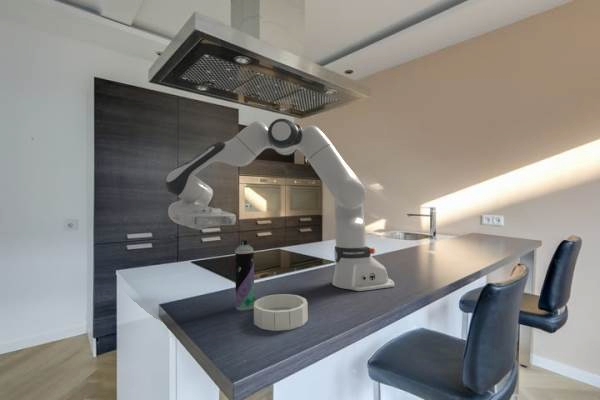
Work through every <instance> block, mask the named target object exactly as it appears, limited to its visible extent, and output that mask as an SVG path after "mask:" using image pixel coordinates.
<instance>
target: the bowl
mask: <svg viewBox="0 0 600 400" xmlns="http://www.w3.org/2000/svg"><path fill="white" fill-rule="evenodd" d="M308 307H309V305H308V300H307V299H306V298H305V297H302V296H301V295H298V294H292V293H291V294H290V293H281V294H278V293H277V294H270V295H265V296H261V297H260V298H258V299H256V300H255V301H254V308H253V325H255V326H257V327H258V328H260V329H262V330H266V331H272V332H277V331H278V332H280V331H290V330H293V329H297V328H300V327H302V326H303V325H305V324H306V323H307V322H308V320H309V318H308V317H309V311H308V309H309V308H308Z"/></svg>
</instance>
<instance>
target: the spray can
mask: <svg viewBox="0 0 600 400" xmlns="http://www.w3.org/2000/svg"><path fill="white" fill-rule="evenodd" d="M254 252H255V251H254V247H252V246H251V245H250V244H249V243H248V240H243V239H242V240H241V241H240V244H239V245H238V246H237V247H236V248H235V251H234V266H235V267H234V273H235V275H234V277H235V308H236V310H238V311H245V312H246V311H249V310H250V311H251V310H254V301H256V300H255V299H256V298H255V264H254V263H255V261H254V260H255V257H254V256H255V255H254V254H255V253H254Z"/></svg>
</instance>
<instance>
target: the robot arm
mask: <svg viewBox="0 0 600 400" xmlns="http://www.w3.org/2000/svg"><path fill="white" fill-rule="evenodd" d="M266 149H269V150H271V151H272V152H274V153H276V154H278V155H281V156H284V157H289V156H292V155H294V154H295V153H296V151H300V152H301V153H302V154H303V155H304V157H305V158H306V160H307V161H308V162H309V165H311V167H312V169H313V170H314V172H315V173H316V175H317V176H318V177H319V179H320V180H321V181H322V183H323V184H324V185H325V187H326V188H327V190H328V191H329V193H330V194H331V196H332V197H333V199H334V220H335V225H334V226H335V227H334V228H335V246H334V261H335V265H334V267H335V268H334V274H333V278H332V279H333V280H332V282H331V283H332V285H333V286H335V287H336V288H340V289H346V290H352V291H355V292H362V291H363V292H364V291H371V290H378V289H386V288H394V287H395V282H394V280H393V279H391V278H390V277H388V272H387V269H386V267H385V265H383V264H382V263H381V262H379V261H378V260H377V259H376V258H374V257H373V256H371V255H375V254H376V251H375V248H374V247H368V246H367V245H366V223H365V211H364V203H365V201H366V200H367V199H366V198H367V190H366V187H365V185H364V184H363V183H362V181H361V180H360V179H359V177H358V176H357V175H356V174H355V172H354V171H353V169H352V168H350V166H349V165H348V164H347V163H346V161H345V160H344V159H343V157H342V155H340V153H339V151H338V150H337V149H336V147H335V146H334V144H333V143H332V142H331V140H330V139H329V138H328V136H327V135H326V134H325V133H324V132H323V131H322V130H321V129H320V128H319V127H318V126H316V125H314V124H313V125H311V124H310V125H307V126H304V128H302V126H301V125H299V124H298V123H295V122H293V121H291V120H289V119H287V118H277V119H275V120H273V121H272V122H271V123H270V124H269V126H267V124H266V123H264V122H262V121H259V120H256V121H253V122H251V123H250V124H248V125H247V126H246V127H244V128H243V129H242V130H241V131H239V132H238V133H237V134H236V136H234V137H232V138H231V139H230V140H228V141H227V140H226V141H223V142H222V141H216V142H215V143H213V144H211V145H210V146H208V147H207V148H205V149H204V150H203V151H201V152H199V153H198V154H196V155H195V156H194V157H192V158H191V159H189V160H188V161H186V162H185V163H184V164H182V165H179V166H178V167H176V168H174V169H173V170H171V171H170V172H169V173H168V174H167V175H166V177H165V187H166V190H167V191H168V192H169V193H171V194H172V195H174V196H176V197H178V198H180V200H178V201H175V202H172V203H171V204H169V206H168V210H167V214H168V217H169V218H170V220H171V221H172V222H174V223H175V224H178V225H180V226H184V227H188V228H189V229H190V228H191V229H194V230H200V231H201V230H203V229H207V228H210V227H217V226H230V225H231V226H234V225H236V220H237V219H236V218H237V216H236V214H234V213H232V212H229V211H225V210H222V209H221V208H218V207H211V206H212V204H213V201H214V195H215V194H214V189H213V188H212V187H210V186H209V185H208V184H207V183H205V181H202V180H201V179H200V178H198V177H197V176H196V175H197V174H198V173H199V172H200V171H201V170H204V168H206V167H207V166H208V165H210V164H212V163H215V162H220V163H223V164H224V163H225V164H227V165H231V166H233V167H246V166H247V165H248V166H249V164H251V163H252V162H253V161H254V160H255V159H256V158H257V157H258V156H259V155H260V154H261V153H262V152H263V151H265V150H266Z"/></svg>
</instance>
